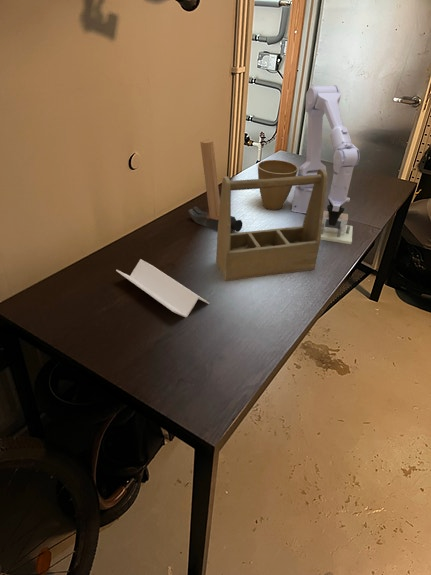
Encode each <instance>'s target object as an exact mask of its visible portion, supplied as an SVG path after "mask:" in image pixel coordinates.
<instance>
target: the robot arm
mask: <svg viewBox="0 0 431 575" xmlns="http://www.w3.org/2000/svg"><path fill="white" fill-rule="evenodd" d="M341 96H342V94H341V90H340V88H339V86H338V85H336V84H335V85H310V87H308V90H307V92H306V93H305V112H306V113H308V114H307V135H306V138H307V140H306V161H305V162H304V163H303V164H301V165H300V166H299V167H298V171H297V176H306V175H317V172H318V170H319V169H324V170H325V171H326V172H327V167H326V165H324V163H322V158H321V157H322V140H323V138H322V137H323V121H324V119H323V118H324V115H325V116H326V119H327V121H328V124H329V126H330V128H331V131H330V133H329V138H330V140H331V144H332V148H333V150H334V154H333V155H332V159H333V167H332V169H333V176H332V181H331V186H330V190H329V194H328V197H327V199H328V204H327V207H326V208H327V210H326V211H328V213H329V225H332V226H335V225H336V223H337V221H338V218H339V217H340V215H341V214H342V213H343V214H344V212H345V207H343V205H344V204H345V203H348V202H350V201H351V200H350V199H351V198H350V197H348V193H349V190H350V189H349V188H350V184H351V180H352V176H353V172H354V168H355V167H356V166H357V165H358V164H359V161H360V159H361V158H360V157H361V154H360V149H359V148H358V147H356V146H355V144H353V142H352V139H351V136H350V133H349V129H348V127H346V126H344V125H343V121H342V120H343V119H342V115H341V110H340V107H339V106H340V101H341ZM313 186H314V184H308V185H297V186H294V187H295V188H294V193H293V198H292V202H291V210H290V211H291V212H292V213H300V214H305V215H306V212H307V208H308V204H309V201H310V198H311V194H312V190H313Z"/></svg>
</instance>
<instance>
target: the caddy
mask: <svg viewBox="0 0 431 575" xmlns="http://www.w3.org/2000/svg"><path fill="white" fill-rule="evenodd" d="M308 184H314V186H313V190H312V194H311V198H310V201H309V204H308V208H307V212H306V214H305V216H304V218H303V219H304V220H303V223H302V225H298V226H291V227H280V228H279V227H278V228H270V229H269V228H268V229H261V230H252V231H241V232H240V231H239V232H234V233H231V216H232V214H231V212H232V210H231V206H232V204H231V202H232V199H231V198H232V194H231V193H232V191H243V190H246V191H247V190H258V189H259V190H260V188H273V187H284V186H292V187H296V186H298V185H308ZM327 185H328V172H327V170H326V171H325V170H324V169H319V170H318V172H317V175H306V176H298V175H296V176H295V177H284V178H273V179H258V178H255V179H251V178H250V179H240V180H239V179H238V180H231V179H230V178H229V176H223V177H222V181H221V190H220V192H221V193H220V211H219V221H218V231H217V235H216V254H215V255H216V256H215V257H216V258H215V264H216V265H217V268H218V269H219V271H220V274H221V276H222V277H223V279H224V281H225V282H228V281H236V280H242V279H243V280H244V279H249V278H250V279H251V278H257V277H263V276H264V277H265V276H273V275H280V274H286V273H295V272H303V271H310V270H314V269H316V265H317V258H318V254H319V251H320V250H319V249H320V244H321V230H322V221H323V213H324V211H325V204H326V203H325V202H326V196H327V195H326V194H327Z"/></svg>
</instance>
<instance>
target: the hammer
mask: <svg viewBox="0 0 431 575" xmlns="http://www.w3.org/2000/svg"><path fill="white" fill-rule="evenodd" d="M199 144H200V150H201V156H202V165H203V174H204V182H205V189H206V190H205V191H206V198H207V204H208V205H207V206H208V212H206V211H203V210H201V209H200V208H199V206H198V205H196V206H193V208H190V209H188V210H187V212H188V214H189V215H190V217H191V219H192V220H193V221H194V222H195V223H196V224H198V225H201V226H204V227H205V228H209V229H211V230H213V231H217V232H218V221H219V211H220V201H221V197H220V191H219V190H220V189H219V179H218V172H217V164H216V156H215V145H214V140H213V139H203V140H200V143H199ZM242 229H243V220H242V219H237V218H236V217H235V216H234V215H233V216H232V215H231V231H234V232H235V233H240V231H241V230H242Z"/></svg>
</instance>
